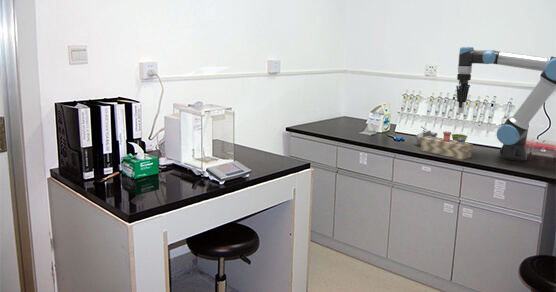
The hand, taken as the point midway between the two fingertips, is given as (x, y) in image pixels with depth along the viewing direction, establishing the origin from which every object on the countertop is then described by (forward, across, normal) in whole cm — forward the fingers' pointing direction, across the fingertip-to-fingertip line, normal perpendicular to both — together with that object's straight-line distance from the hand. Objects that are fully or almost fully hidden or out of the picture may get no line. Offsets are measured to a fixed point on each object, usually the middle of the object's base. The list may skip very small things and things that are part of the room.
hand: (460, 112), depth 273 cm
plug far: (+23, +8, -12) cm, 27 cm away
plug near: (+23, +9, +6) cm, 26 cm away
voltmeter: (+24, -5, -26) cm, 36 cm away
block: (+25, +8, -4) cm, 26 cm away
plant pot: (+25, -11, -5) cm, 27 cm away
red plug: (+21, +8, -4) cm, 23 cm away
